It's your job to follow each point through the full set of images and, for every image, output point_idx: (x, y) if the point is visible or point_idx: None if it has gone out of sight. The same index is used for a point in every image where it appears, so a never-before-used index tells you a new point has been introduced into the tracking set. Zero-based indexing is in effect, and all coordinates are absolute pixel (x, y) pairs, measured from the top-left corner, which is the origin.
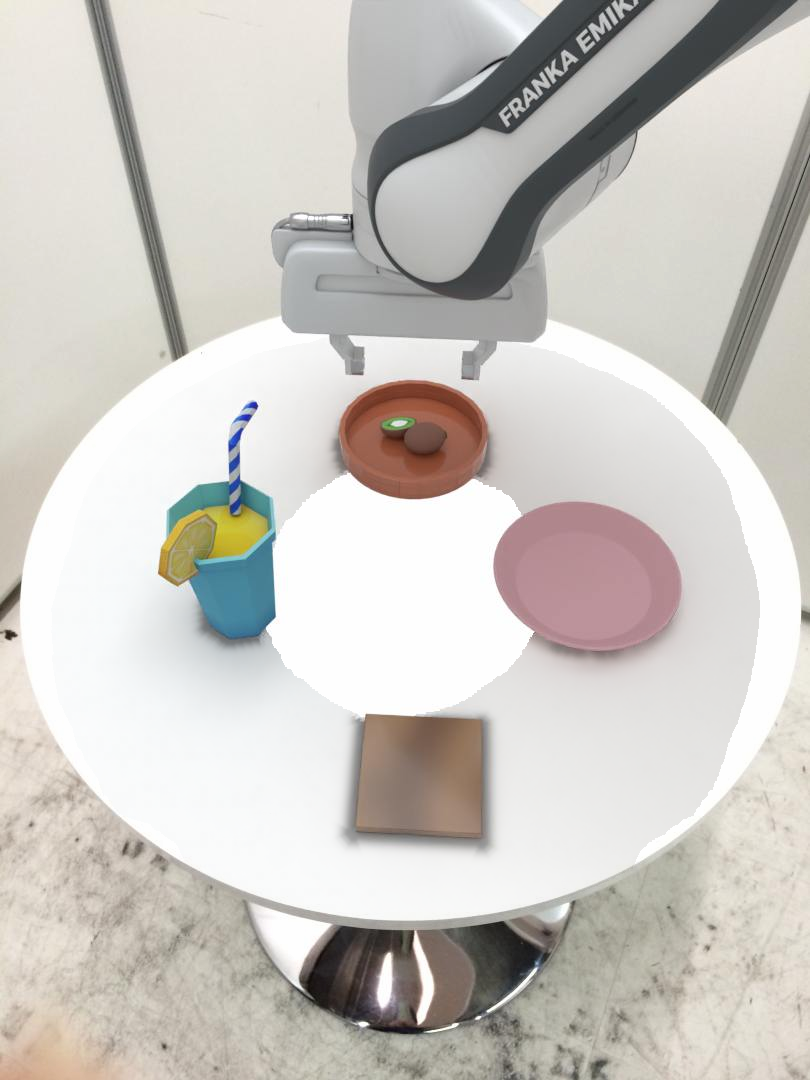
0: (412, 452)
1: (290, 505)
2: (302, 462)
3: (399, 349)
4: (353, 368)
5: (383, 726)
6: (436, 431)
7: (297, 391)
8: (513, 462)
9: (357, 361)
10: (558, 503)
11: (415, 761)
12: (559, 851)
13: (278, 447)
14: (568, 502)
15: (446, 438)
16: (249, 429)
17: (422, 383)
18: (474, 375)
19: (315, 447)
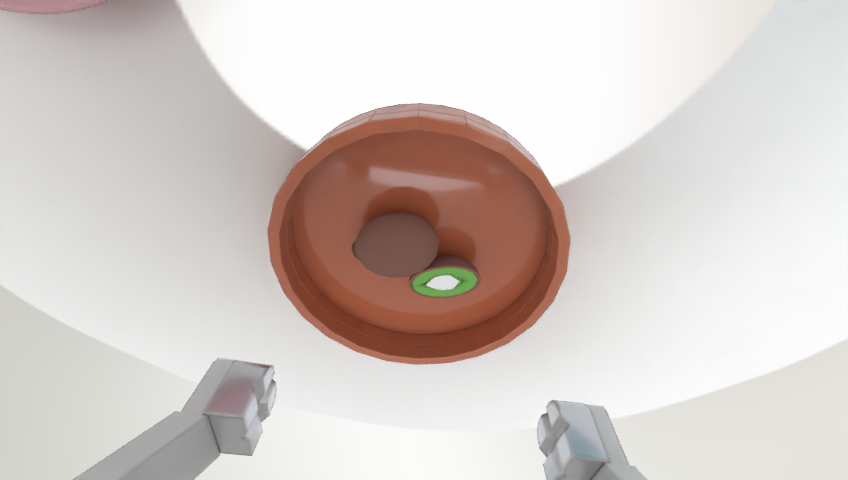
0: None
1: (699, 113)
2: (631, 223)
3: (421, 406)
4: (591, 428)
5: None
6: (370, 251)
7: (588, 358)
8: (231, 186)
9: (586, 454)
10: (61, 7)
11: None
12: None
13: (661, 260)
14: (34, 6)
15: None
16: (695, 300)
17: (392, 356)
18: (220, 375)
19: (595, 254)
